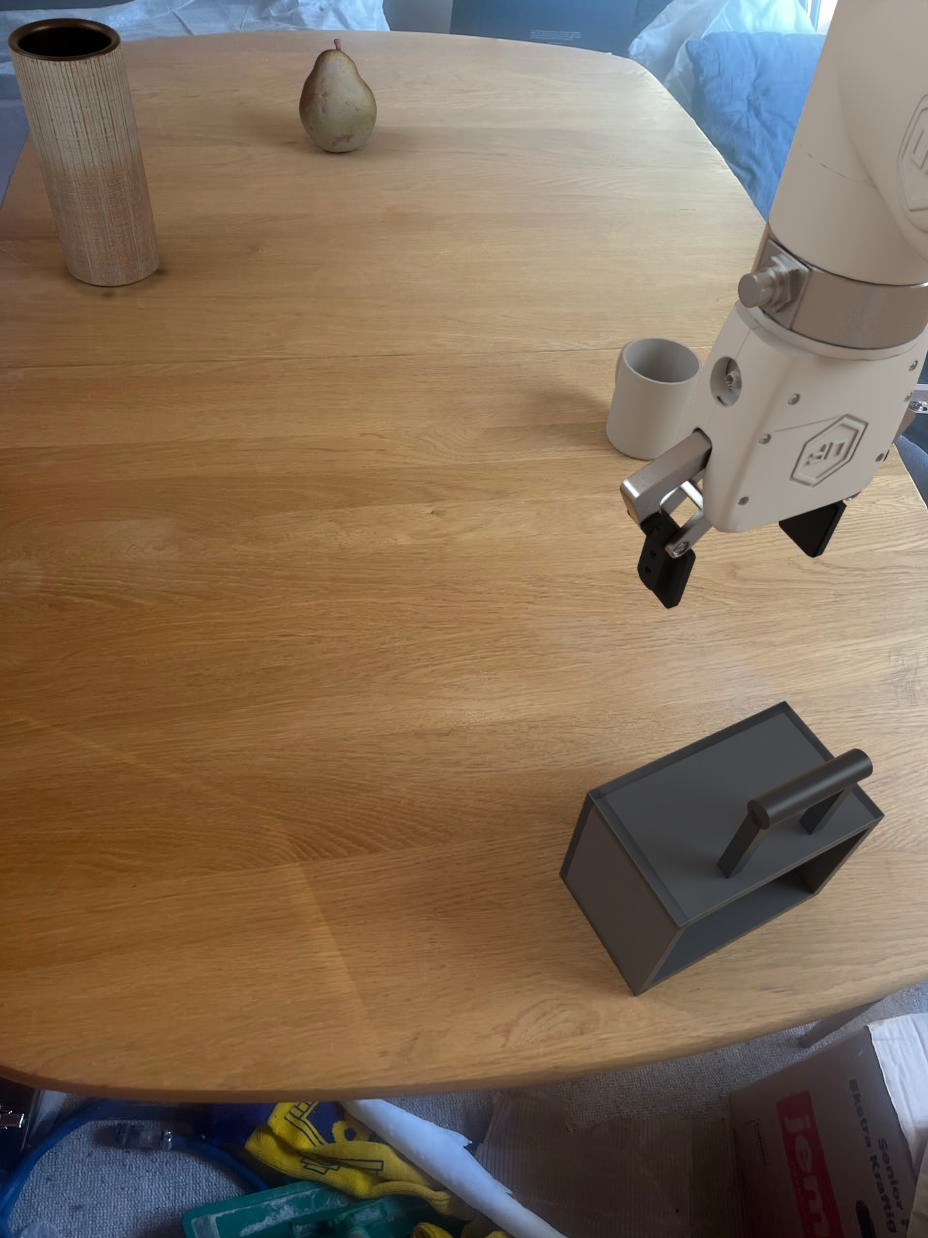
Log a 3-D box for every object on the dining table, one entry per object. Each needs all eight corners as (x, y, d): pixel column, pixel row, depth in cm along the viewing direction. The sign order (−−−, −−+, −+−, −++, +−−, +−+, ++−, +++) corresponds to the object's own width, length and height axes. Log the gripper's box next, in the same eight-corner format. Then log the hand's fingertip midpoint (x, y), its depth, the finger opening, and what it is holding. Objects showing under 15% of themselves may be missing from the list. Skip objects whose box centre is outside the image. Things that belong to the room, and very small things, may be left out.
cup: (625, 468, 90) (646, 390, 84) (580, 404, 96) (595, 326, 89) (691, 454, 93) (716, 377, 86) (643, 392, 98) (663, 315, 91)
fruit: (360, 125, 133) (359, 28, 123) (391, 154, 128) (392, 56, 118) (291, 136, 129) (285, 38, 120) (320, 167, 124) (316, 67, 115)
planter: (101, 231, 110) (50, 9, 93) (178, 253, 109) (141, 30, 91) (47, 273, 104) (-18, 43, 87) (128, 297, 102) (78, 67, 85)
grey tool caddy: (734, 787, 69) (818, 894, 64) (558, 874, 64) (635, 997, 59) (827, 626, 55) (943, 748, 50) (611, 720, 50) (717, 866, 45)
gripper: (731, 373, 35) (635, 662, 48) (1058, 287, 41) (893, 566, 54) (621, 270, 39) (560, 562, 52) (932, 206, 45) (807, 483, 58)
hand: (729, 564), depth 53 cm, fingers open, 9 cm apart
